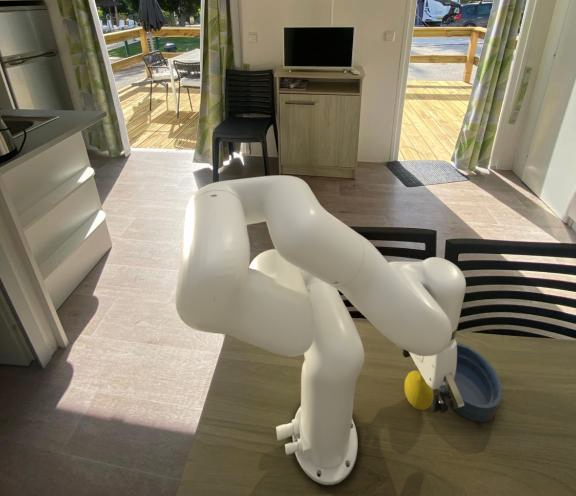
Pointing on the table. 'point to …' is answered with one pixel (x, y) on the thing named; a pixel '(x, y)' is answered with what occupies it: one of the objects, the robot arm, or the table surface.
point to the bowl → (476, 385)
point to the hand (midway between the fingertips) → (423, 379)
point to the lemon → (418, 391)
